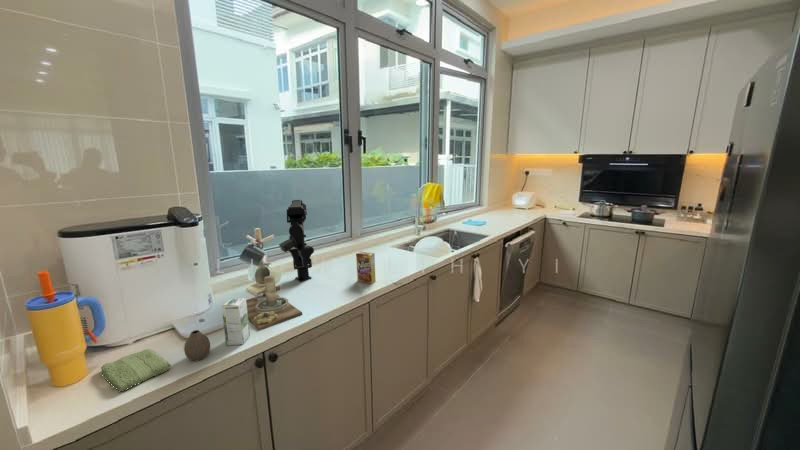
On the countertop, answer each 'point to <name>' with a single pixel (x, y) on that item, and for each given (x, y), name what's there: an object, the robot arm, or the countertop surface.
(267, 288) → the gear
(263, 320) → the gear board
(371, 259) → the candy box
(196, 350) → the vase
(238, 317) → the syrup box
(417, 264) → the countertop surface
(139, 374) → the washcloth
